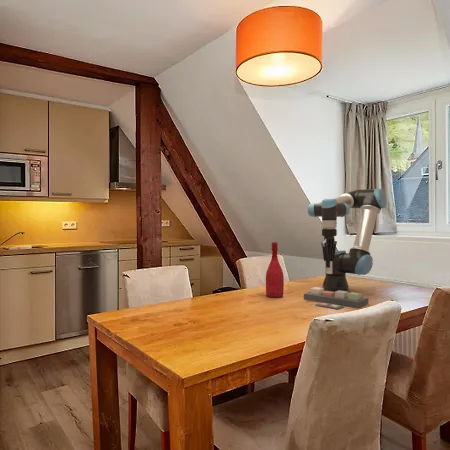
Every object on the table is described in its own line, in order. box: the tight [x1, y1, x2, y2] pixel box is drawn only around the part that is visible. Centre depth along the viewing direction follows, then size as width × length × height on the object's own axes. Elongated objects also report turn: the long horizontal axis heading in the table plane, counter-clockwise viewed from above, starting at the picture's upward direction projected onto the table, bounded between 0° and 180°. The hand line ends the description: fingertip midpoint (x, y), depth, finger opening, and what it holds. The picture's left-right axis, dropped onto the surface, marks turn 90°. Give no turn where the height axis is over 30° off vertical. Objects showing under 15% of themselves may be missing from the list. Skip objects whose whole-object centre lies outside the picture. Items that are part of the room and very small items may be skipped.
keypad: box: [303, 291, 369, 309], centre depth 203 cm, size 30×12×3 cm, turn 47°
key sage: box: [348, 291, 363, 301], centre depth 196 cm, size 5×5×3 cm
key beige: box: [334, 290, 349, 299], centre depth 201 cm, size 5×5×3 cm
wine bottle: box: [265, 241, 285, 299], centre depth 216 cm, size 10×10×30 cm
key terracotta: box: [322, 290, 336, 297], centre depth 206 cm, size 5×5×3 cm
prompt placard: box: [315, 302, 345, 310], centre depth 192 cm, size 12×6×1 cm, turn 47°
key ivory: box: [310, 286, 325, 295], centre depth 210 cm, size 5×5×3 cm
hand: (329, 273), depth 205 cm, fingers closed
